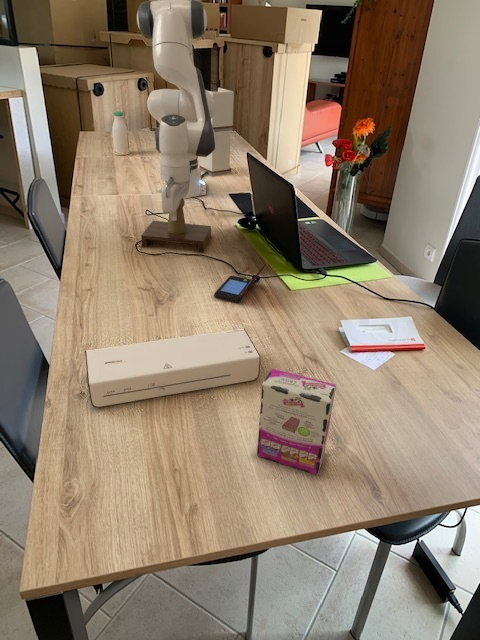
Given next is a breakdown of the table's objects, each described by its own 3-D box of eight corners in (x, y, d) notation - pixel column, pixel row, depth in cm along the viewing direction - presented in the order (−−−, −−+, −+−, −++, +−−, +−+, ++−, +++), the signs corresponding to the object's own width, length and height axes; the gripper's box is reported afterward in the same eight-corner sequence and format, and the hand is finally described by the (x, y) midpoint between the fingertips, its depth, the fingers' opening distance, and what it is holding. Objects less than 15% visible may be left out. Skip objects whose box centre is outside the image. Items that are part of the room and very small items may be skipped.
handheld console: (230, 278, 141) (231, 254, 137) (265, 286, 138) (267, 262, 134) (212, 298, 131) (212, 273, 127) (250, 307, 128) (251, 282, 124)
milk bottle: (127, 156, 248) (124, 113, 237) (112, 155, 248) (108, 113, 237) (131, 152, 255) (127, 110, 244) (116, 151, 255) (112, 110, 244)
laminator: (91, 409, 94) (87, 384, 91) (88, 370, 104) (84, 346, 100) (259, 380, 103) (260, 356, 100) (241, 346, 113) (242, 324, 110)
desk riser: (153, 231, 168) (153, 220, 166) (211, 237, 166) (211, 225, 164) (141, 247, 157) (141, 235, 155) (203, 253, 155) (203, 241, 153)
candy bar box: (324, 455, 87) (338, 383, 78) (318, 476, 83) (331, 403, 74) (264, 437, 90) (271, 366, 81) (255, 456, 86) (261, 384, 77)
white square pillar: (231, 173, 230) (233, 91, 211) (212, 176, 225) (212, 92, 206) (218, 167, 238) (219, 87, 219) (199, 169, 232) (198, 88, 213)
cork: (183, 234, 156) (182, 201, 150) (165, 232, 157) (163, 199, 151) (188, 227, 161) (188, 195, 155) (171, 225, 162) (169, 193, 156)
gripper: (176, 184, 140) (178, 229, 148) (192, 165, 157) (193, 206, 165) (155, 182, 141) (157, 227, 148) (173, 163, 158) (175, 205, 166)
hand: (176, 216), depth 157 cm, fingers closed on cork, 4 cm apart
